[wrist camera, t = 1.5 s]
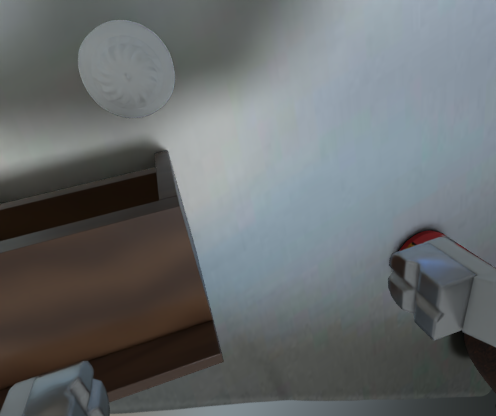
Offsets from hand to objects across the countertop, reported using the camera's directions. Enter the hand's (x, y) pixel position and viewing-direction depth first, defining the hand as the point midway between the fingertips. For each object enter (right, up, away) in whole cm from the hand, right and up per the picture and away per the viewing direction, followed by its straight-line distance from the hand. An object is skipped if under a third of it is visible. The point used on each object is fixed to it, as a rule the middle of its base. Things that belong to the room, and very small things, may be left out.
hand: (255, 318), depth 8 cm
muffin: (-9, +14, +17) cm, 23 cm away
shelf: (-14, +1, +22) cm, 26 cm away
